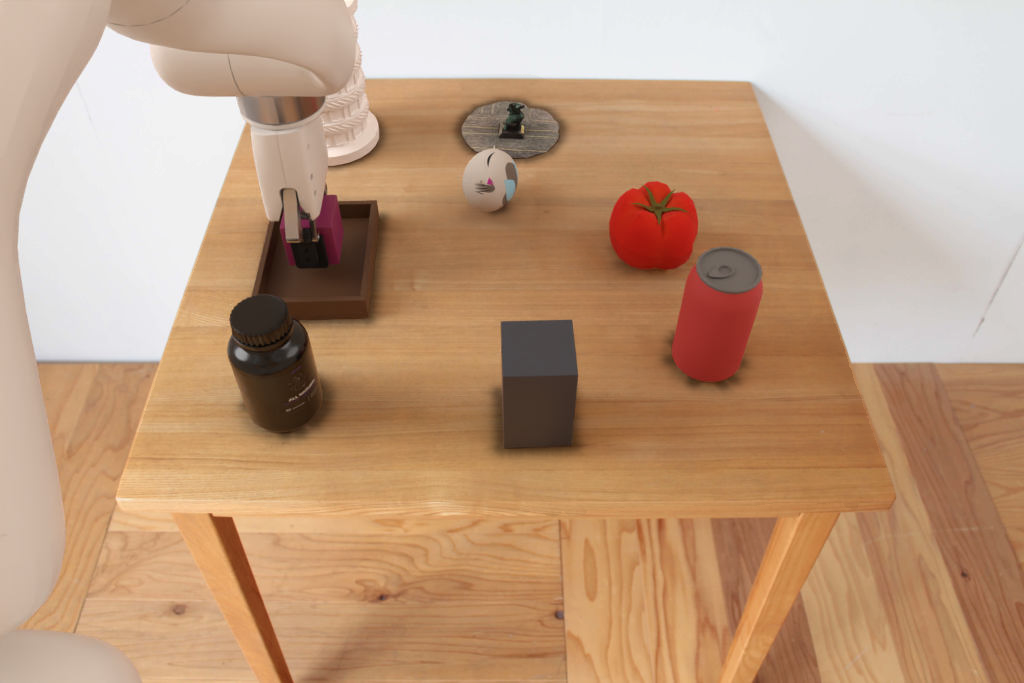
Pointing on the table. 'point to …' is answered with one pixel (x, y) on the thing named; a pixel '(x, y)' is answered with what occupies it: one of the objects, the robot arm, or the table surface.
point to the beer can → (717, 314)
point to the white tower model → (350, 113)
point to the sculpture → (510, 129)
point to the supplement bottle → (273, 364)
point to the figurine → (490, 180)
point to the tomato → (653, 227)
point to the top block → (323, 230)
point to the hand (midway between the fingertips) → (316, 245)
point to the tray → (325, 269)
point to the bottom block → (538, 383)
